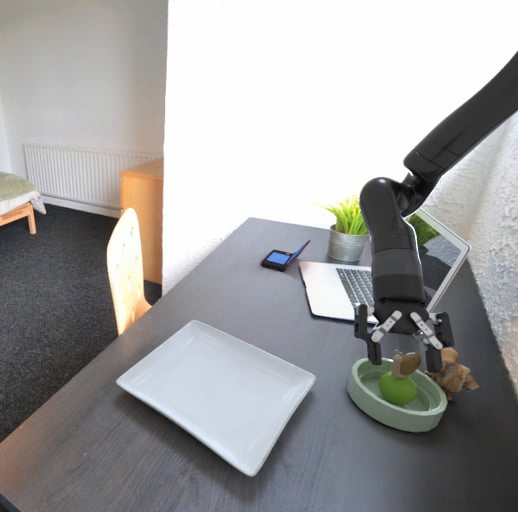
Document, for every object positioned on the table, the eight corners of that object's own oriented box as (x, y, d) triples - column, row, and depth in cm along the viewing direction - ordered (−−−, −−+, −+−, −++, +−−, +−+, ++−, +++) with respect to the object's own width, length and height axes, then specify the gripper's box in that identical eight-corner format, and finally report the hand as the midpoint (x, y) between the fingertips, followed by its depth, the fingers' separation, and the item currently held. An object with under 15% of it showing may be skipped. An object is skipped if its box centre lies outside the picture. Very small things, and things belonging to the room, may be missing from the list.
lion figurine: (465, 419, 63) (487, 380, 59) (426, 407, 65) (445, 369, 61) (447, 366, 74) (464, 330, 70) (414, 357, 77) (430, 322, 73)
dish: (414, 380, 71) (422, 362, 69) (455, 441, 59) (466, 421, 57) (337, 370, 74) (342, 352, 72) (361, 426, 62) (368, 407, 60)
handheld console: (272, 251, 124) (276, 231, 121) (306, 260, 118) (311, 239, 115) (259, 265, 116) (262, 244, 112) (295, 275, 109) (300, 252, 106)
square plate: (250, 495, 53) (254, 477, 51) (113, 395, 70) (112, 379, 68) (314, 388, 70) (319, 373, 68) (192, 329, 87) (193, 316, 85)
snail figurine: (363, 393, 68) (382, 341, 63) (389, 384, 70) (410, 333, 64) (391, 415, 63) (414, 362, 58) (418, 406, 65) (443, 353, 60)
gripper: (362, 268, 66) (368, 361, 61) (455, 275, 63) (469, 374, 58) (345, 280, 73) (349, 364, 68) (428, 287, 70) (439, 375, 65)
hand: (405, 368), depth 63 cm, fingers open, 8 cm apart
